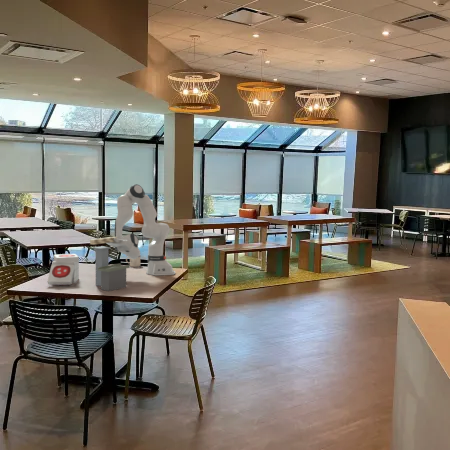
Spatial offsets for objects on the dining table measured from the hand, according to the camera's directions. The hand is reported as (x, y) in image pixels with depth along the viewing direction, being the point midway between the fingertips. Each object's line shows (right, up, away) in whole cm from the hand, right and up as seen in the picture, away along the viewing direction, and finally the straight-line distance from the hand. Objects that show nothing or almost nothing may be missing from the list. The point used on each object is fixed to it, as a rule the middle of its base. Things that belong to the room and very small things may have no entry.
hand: (111, 238), depth 346 cm
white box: (-33, -31, +2) cm, 45 cm away
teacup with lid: (+2, -25, +71) cm, 76 cm away
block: (-4, -3, -5) cm, 7 cm away
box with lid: (+5, -33, -12) cm, 35 cm away
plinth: (-6, -32, -3) cm, 32 cm away
